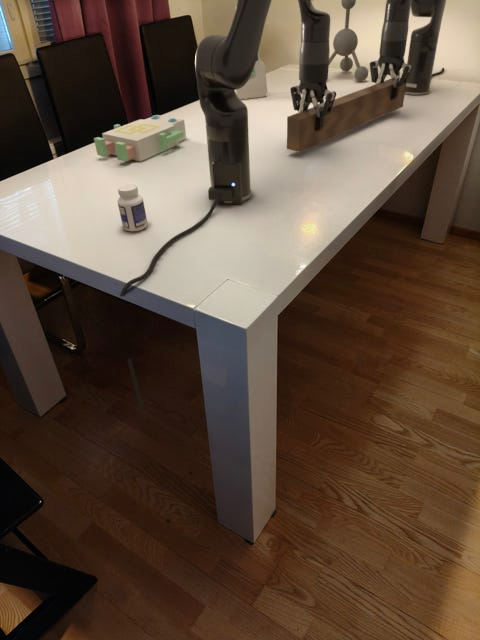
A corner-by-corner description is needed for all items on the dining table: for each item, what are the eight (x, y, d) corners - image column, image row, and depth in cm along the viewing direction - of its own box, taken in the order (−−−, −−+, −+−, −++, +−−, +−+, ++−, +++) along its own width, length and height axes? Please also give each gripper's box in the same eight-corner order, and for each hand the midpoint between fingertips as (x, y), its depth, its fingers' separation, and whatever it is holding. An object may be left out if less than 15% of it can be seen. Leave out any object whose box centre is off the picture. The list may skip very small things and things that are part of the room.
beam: (299, 152, 132) (300, 119, 127) (286, 149, 135) (287, 116, 129) (402, 106, 161) (407, 78, 156) (391, 104, 164) (394, 77, 159)
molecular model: (302, 76, 212) (304, -7, 193) (348, 70, 216) (355, -11, 198) (326, 87, 194) (331, -3, 175) (375, 81, 198) (385, -8, 180)
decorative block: (146, 110, 155) (194, 118, 145) (149, 131, 159) (196, 140, 149) (83, 133, 139) (132, 144, 129) (88, 156, 143) (136, 168, 133)
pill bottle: (149, 220, 107) (142, 181, 102) (146, 231, 103) (138, 191, 98) (125, 221, 107) (116, 182, 102) (121, 232, 103) (112, 193, 98)
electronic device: (236, 100, 185) (231, 6, 166) (231, 95, 191) (226, 5, 172) (267, 96, 187) (266, 3, 169) (261, 92, 193) (260, 2, 174)
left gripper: (346, 60, 123) (340, 130, 133) (301, 55, 131) (299, 121, 141) (328, 65, 118) (323, 137, 129) (283, 60, 127) (282, 127, 137)
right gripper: (422, 37, 144) (412, 99, 154) (380, 34, 152) (373, 92, 162) (409, 41, 140) (400, 104, 150) (366, 37, 148) (360, 97, 158)
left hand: (311, 128), depth 135 cm, fingers closed on beam, 4 cm apart
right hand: (386, 98), depth 156 cm, fingers closed on beam, 4 cm apart
